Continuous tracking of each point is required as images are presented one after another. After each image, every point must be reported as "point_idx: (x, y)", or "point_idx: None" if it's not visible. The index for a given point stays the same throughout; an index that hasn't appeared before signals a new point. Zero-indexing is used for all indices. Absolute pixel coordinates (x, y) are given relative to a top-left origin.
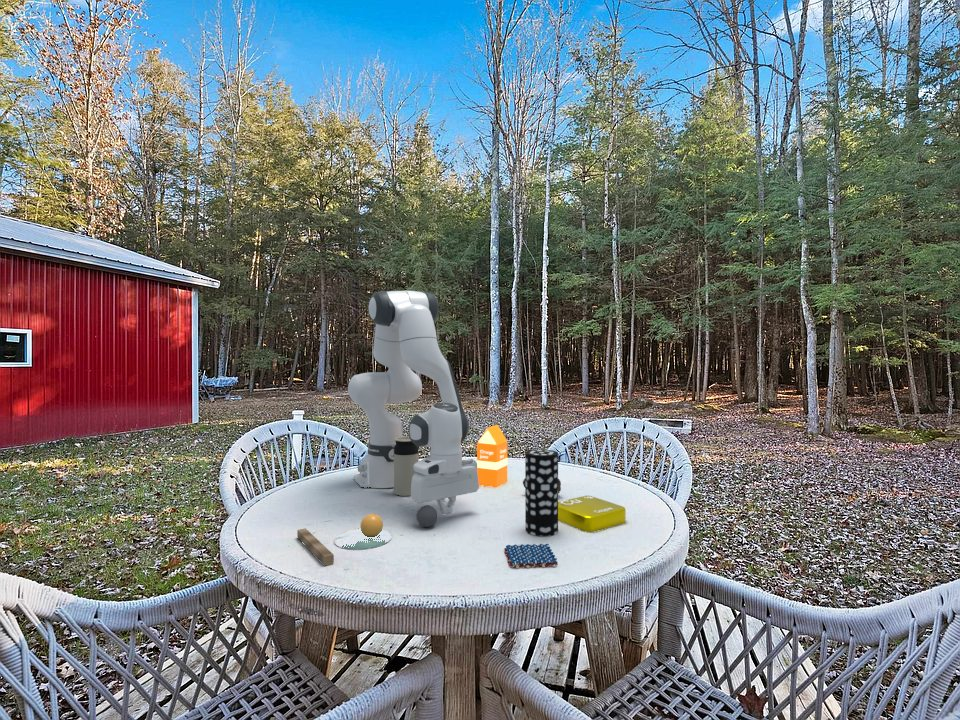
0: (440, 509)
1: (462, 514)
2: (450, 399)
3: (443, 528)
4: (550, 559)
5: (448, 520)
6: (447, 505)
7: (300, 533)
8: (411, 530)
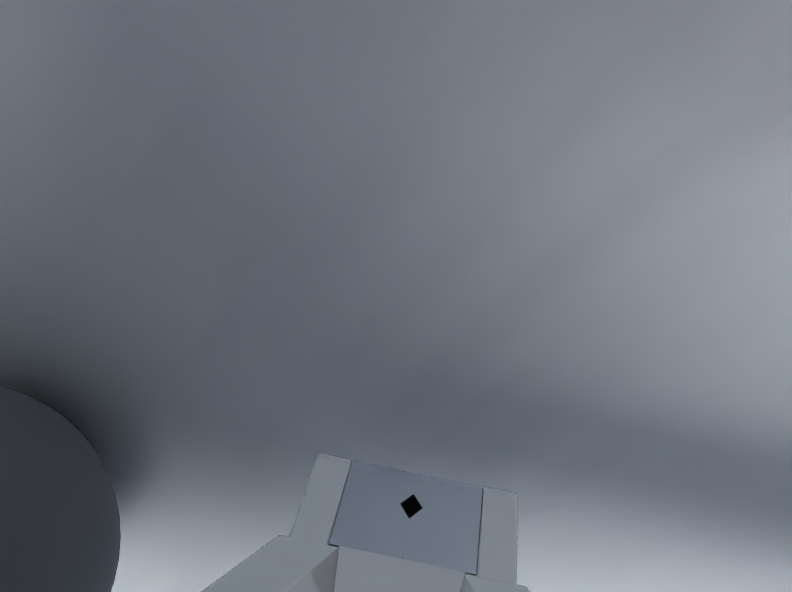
0: (302, 505)
1: (784, 470)
2: None
3: (181, 586)
4: None
5: None
6: (463, 584)
7: None
8: None
